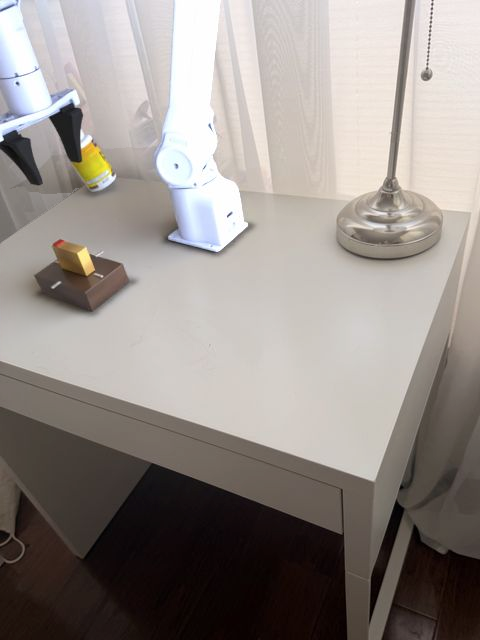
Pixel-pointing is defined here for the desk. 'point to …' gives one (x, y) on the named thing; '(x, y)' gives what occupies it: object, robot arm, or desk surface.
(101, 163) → the supplement bottle
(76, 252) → the thumbturn
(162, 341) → the desk surface
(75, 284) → the plate
